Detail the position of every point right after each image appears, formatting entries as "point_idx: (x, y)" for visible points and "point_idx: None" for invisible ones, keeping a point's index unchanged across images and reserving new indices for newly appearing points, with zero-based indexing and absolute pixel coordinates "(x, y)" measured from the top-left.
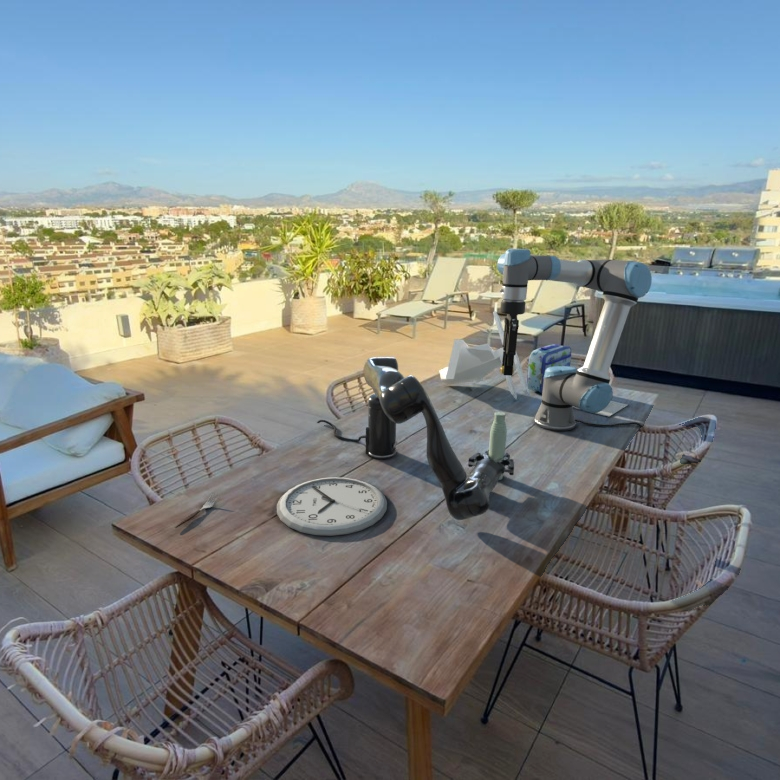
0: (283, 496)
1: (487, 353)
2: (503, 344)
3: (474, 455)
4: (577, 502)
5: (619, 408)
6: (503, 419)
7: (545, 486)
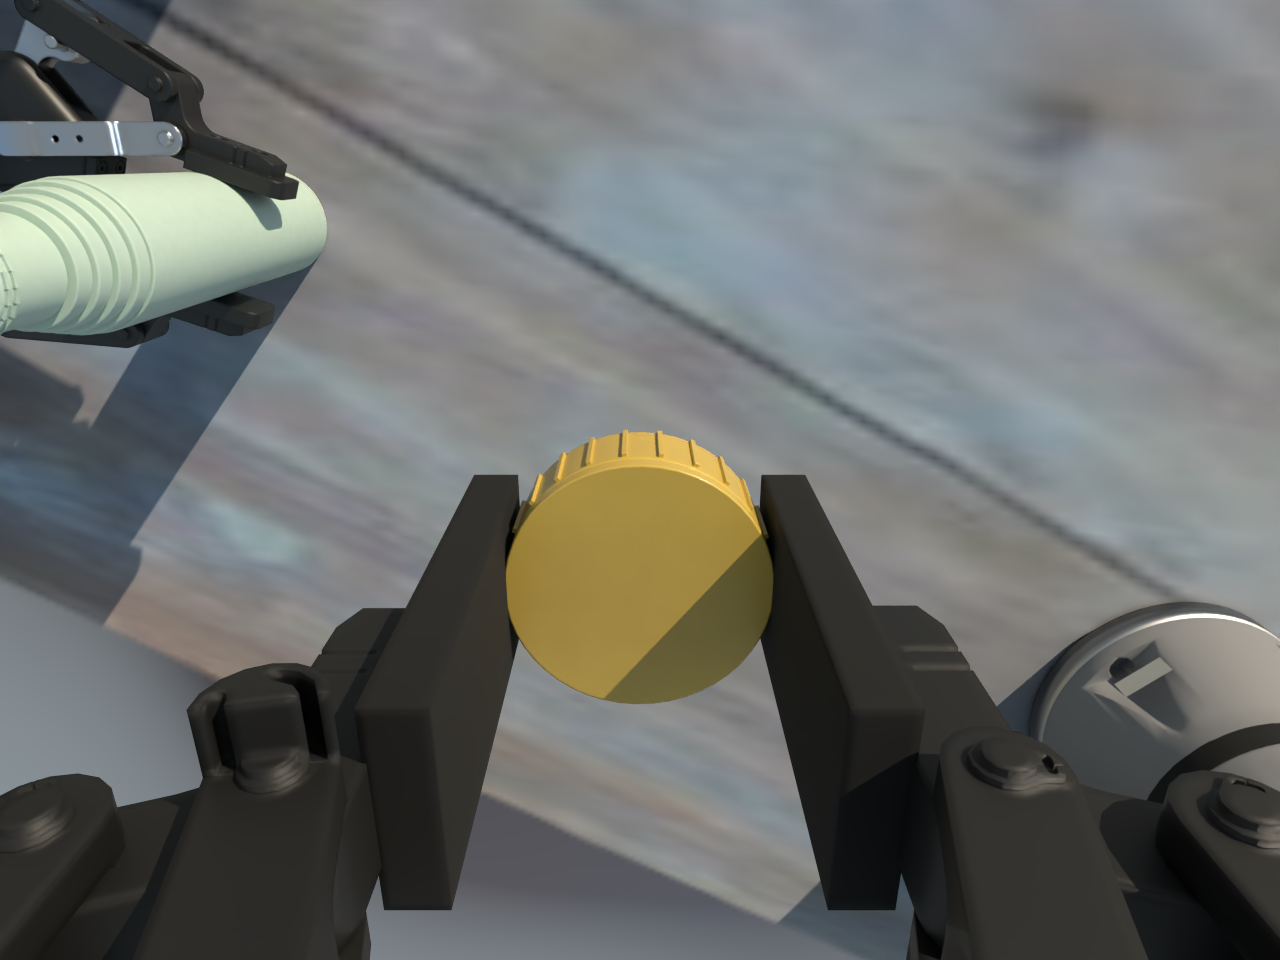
0: None
1: None
2: (1222, 870)
3: (106, 43)
4: (108, 612)
5: None
6: None
7: (236, 498)
